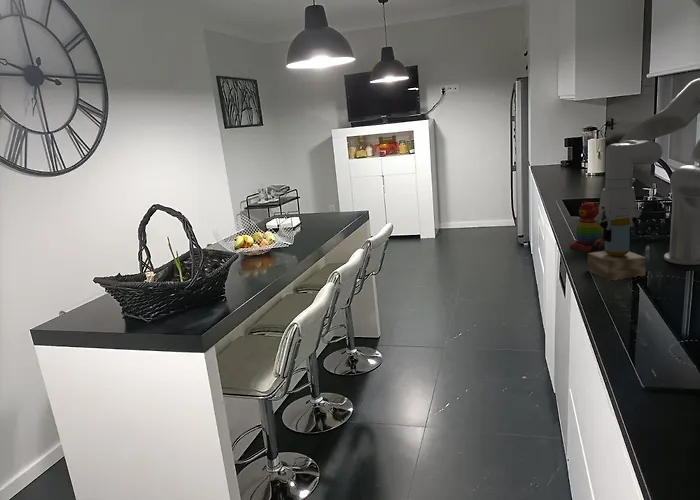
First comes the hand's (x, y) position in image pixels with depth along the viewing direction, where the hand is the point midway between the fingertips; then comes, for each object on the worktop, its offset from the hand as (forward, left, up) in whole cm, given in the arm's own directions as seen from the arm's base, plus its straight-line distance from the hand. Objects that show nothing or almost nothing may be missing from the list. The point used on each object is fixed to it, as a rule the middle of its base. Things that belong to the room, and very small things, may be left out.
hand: (617, 239), depth 168 cm
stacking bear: (-9, -29, -12) cm, 32 cm away
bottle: (0, 0, -5) cm, 5 cm away
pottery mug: (-7, -17, -12) cm, 22 cm away
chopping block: (0, 0, -11) cm, 11 cm away
